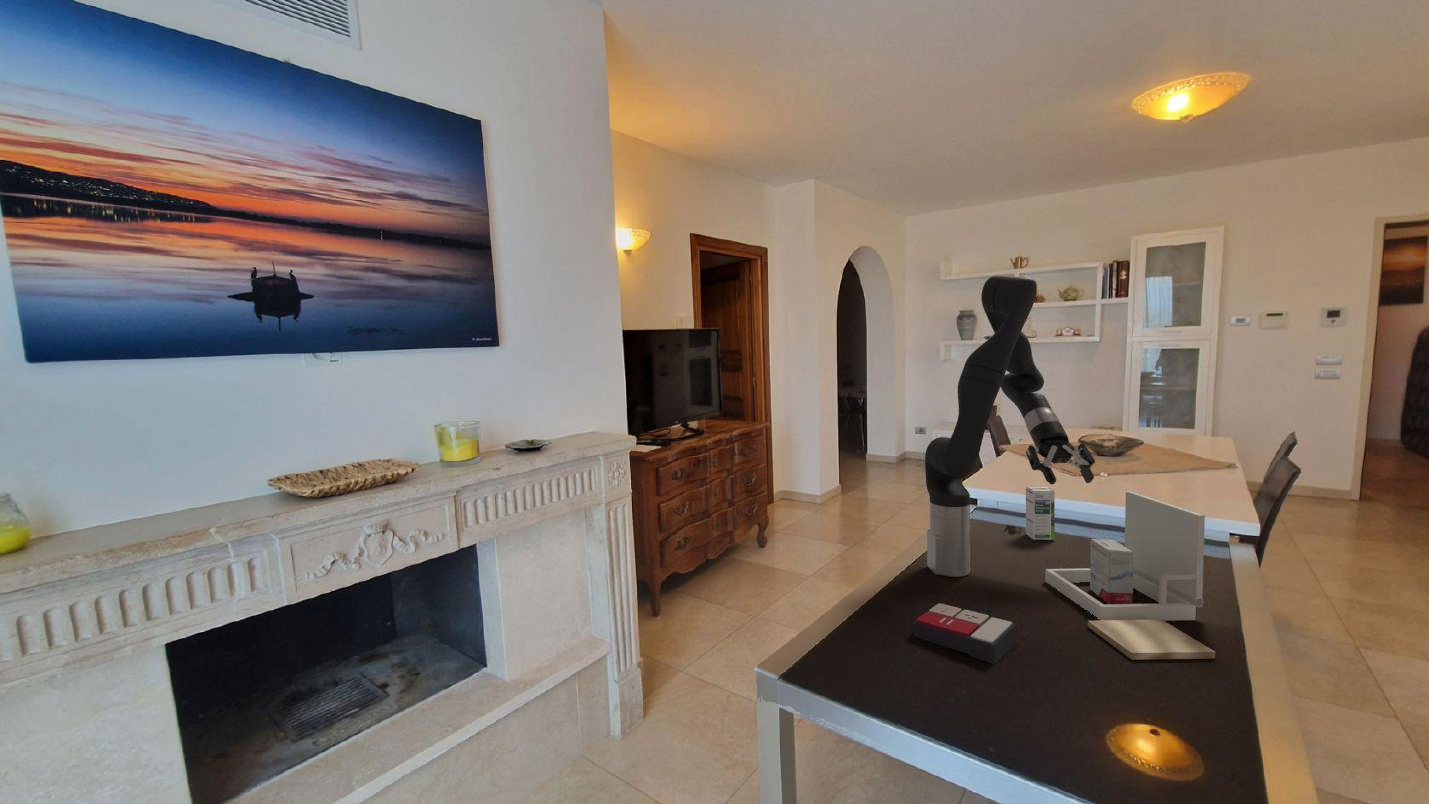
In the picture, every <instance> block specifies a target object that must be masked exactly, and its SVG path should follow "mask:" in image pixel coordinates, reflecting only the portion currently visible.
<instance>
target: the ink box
mask: <svg viewBox="0 0 1429 804" xmlns="http://www.w3.org/2000/svg"><path fill="white" fill-rule="evenodd" d="M1089 551H1090V557H1089V558H1090V560H1089V562H1090V583H1089V589H1090V590H1091V591H1092V592H1093V593H1095V595H1097V596H1098V597H1099V598H1102V599H1101V600H1103V601H1104V602H1105V604H1134V588H1133V552H1132V551H1131V550H1129V549H1127V548H1126V547H1125V545H1123V544H1121V543H1120V542H1118V541H1116V540H1114V539H1104V538H1103V539H1102V538H1091V539H1090V550H1089Z"/></svg>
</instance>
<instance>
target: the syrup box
mask: <svg viewBox="0 0 1429 804" xmlns="http://www.w3.org/2000/svg"><path fill="white" fill-rule="evenodd" d="M1055 494H1056V493H1055V490H1054V489H1052V488H1050V487H1048V486H1026V487H1025V534H1026V535H1027V536H1028V537H1029V538H1031V540H1034V541H1037V540H1038V541H1039V540H1040V541H1041V540H1042V541H1055V536H1056V534H1055V533H1056V532H1055V530H1056V529H1055V520H1056V519H1055V515H1056V514H1055V511H1056V510H1055V503H1056V502H1055V501H1056V500H1055V498H1056V497H1055Z"/></svg>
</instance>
